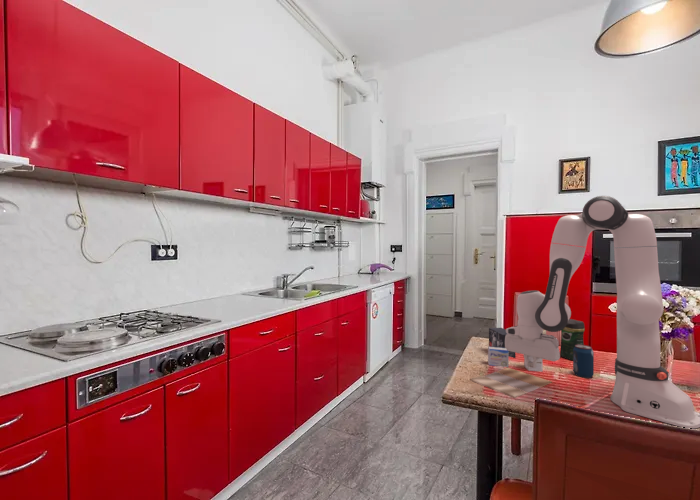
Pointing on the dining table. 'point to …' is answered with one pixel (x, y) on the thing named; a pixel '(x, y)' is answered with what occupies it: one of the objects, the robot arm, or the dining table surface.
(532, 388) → the grey plank
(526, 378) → the oak plank
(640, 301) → the robot arm
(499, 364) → the medicine box
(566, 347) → the coffee jar
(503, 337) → the small box
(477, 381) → the birch plank
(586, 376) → the soda can
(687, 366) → the dining table surface
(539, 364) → the syrup box
